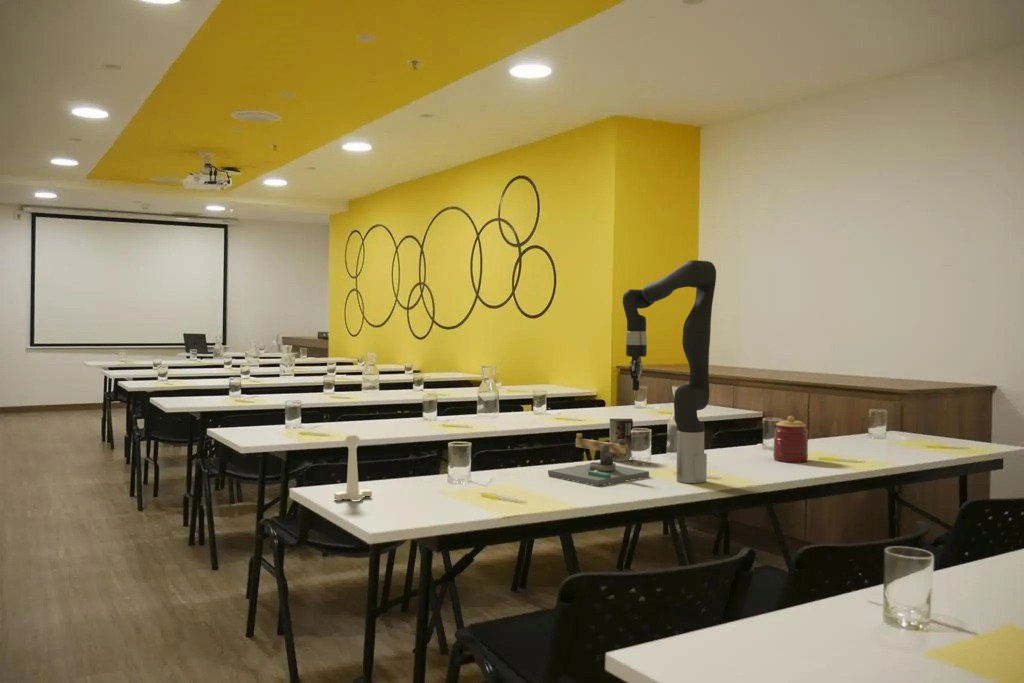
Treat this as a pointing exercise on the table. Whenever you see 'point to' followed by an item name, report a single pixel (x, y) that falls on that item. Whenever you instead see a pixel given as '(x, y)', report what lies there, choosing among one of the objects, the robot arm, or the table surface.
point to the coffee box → (621, 436)
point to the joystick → (352, 473)
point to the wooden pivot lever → (602, 452)
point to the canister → (790, 441)
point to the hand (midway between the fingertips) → (636, 390)
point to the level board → (598, 474)
